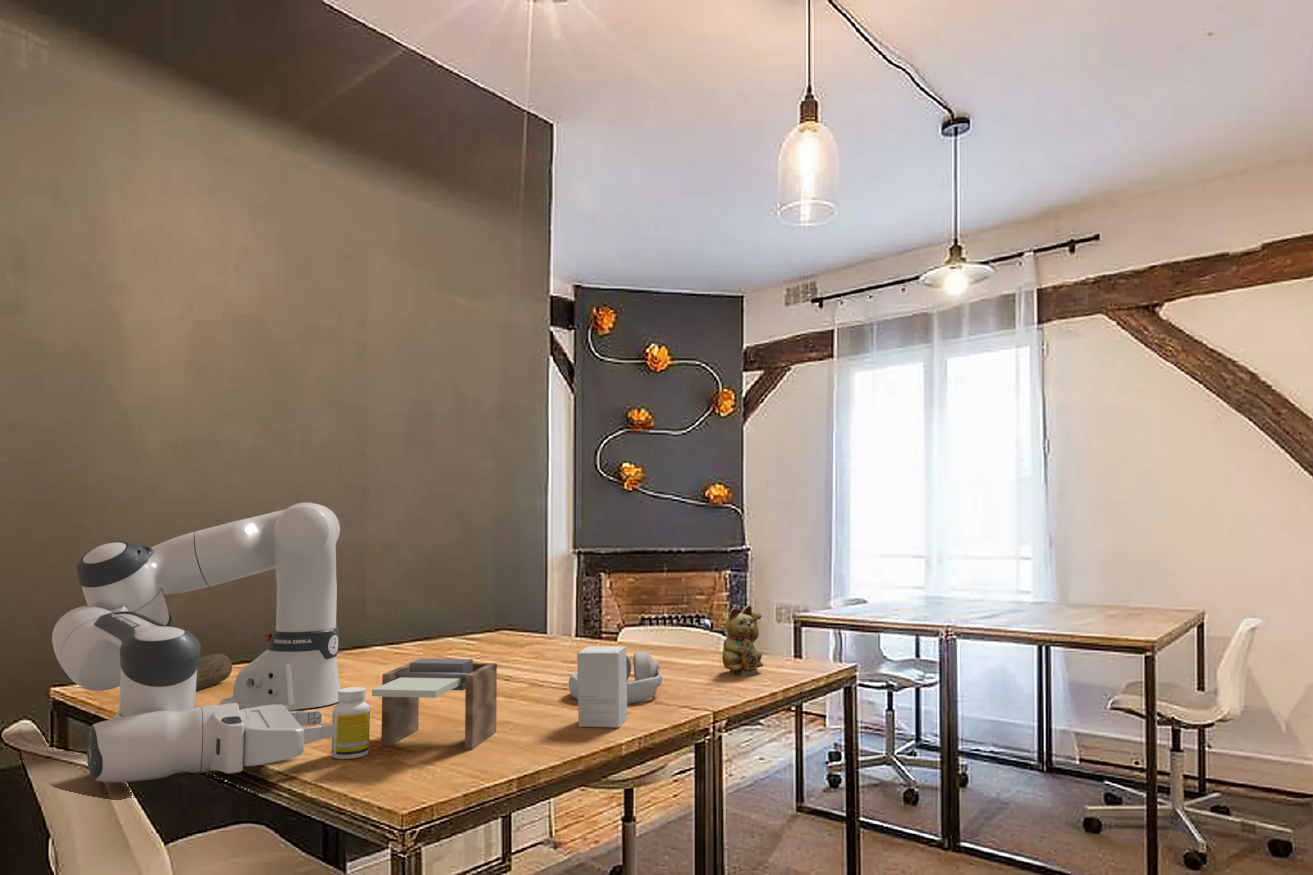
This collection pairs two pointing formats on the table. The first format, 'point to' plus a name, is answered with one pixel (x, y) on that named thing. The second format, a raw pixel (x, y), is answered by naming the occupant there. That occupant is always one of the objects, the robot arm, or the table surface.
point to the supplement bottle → (351, 724)
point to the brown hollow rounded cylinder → (212, 670)
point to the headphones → (643, 673)
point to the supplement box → (602, 686)
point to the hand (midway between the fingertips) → (326, 723)
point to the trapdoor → (428, 678)
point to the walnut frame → (478, 707)
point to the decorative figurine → (742, 642)
